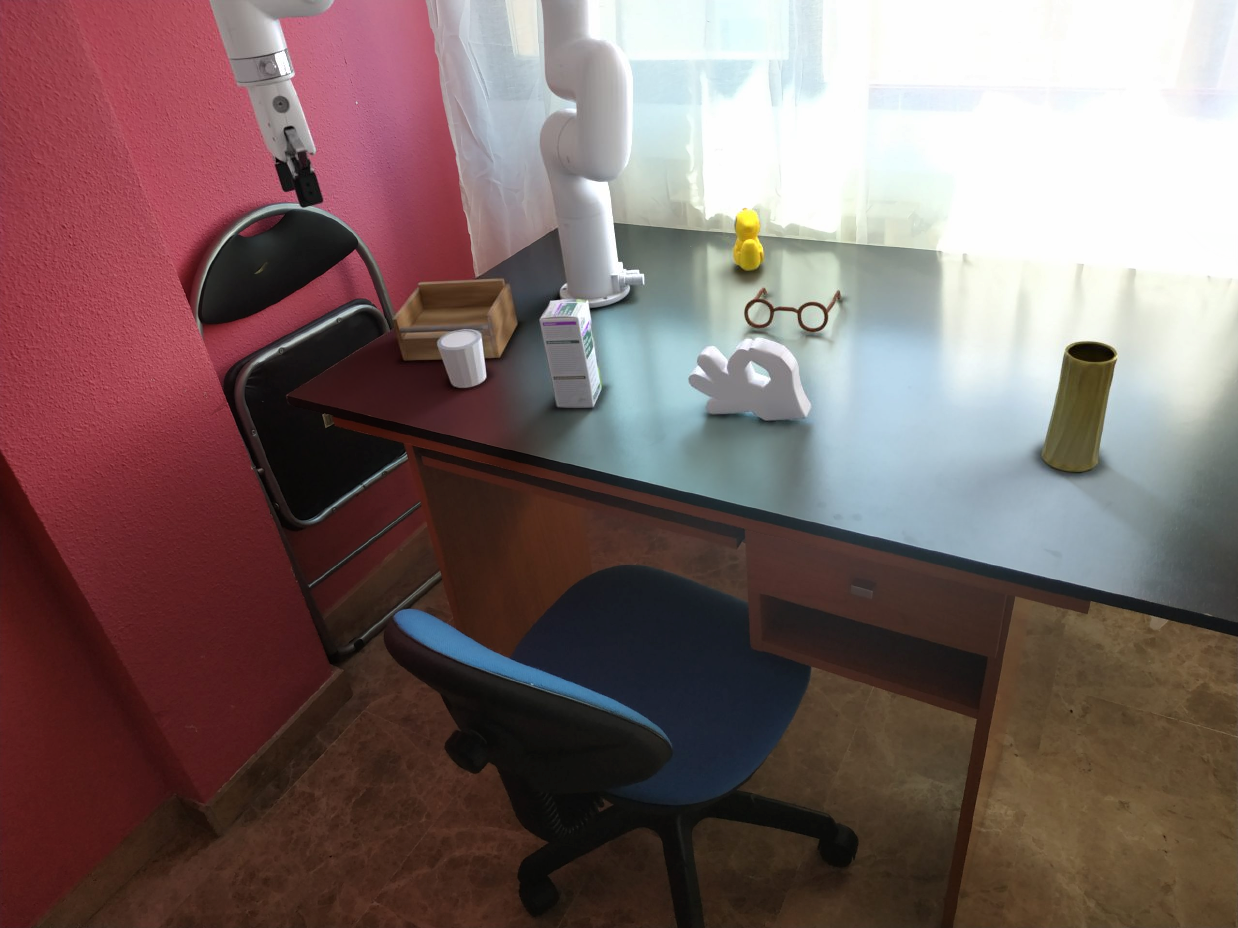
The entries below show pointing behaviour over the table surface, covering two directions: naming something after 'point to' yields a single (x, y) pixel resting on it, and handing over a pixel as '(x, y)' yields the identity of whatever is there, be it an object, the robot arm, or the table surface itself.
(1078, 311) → the table surface
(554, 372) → the syrup box
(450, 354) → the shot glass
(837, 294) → the glasses
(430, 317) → the spice rack
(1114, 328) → the table surface
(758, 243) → the duckling
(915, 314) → the table surface
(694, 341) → the table surface
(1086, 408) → the vase
